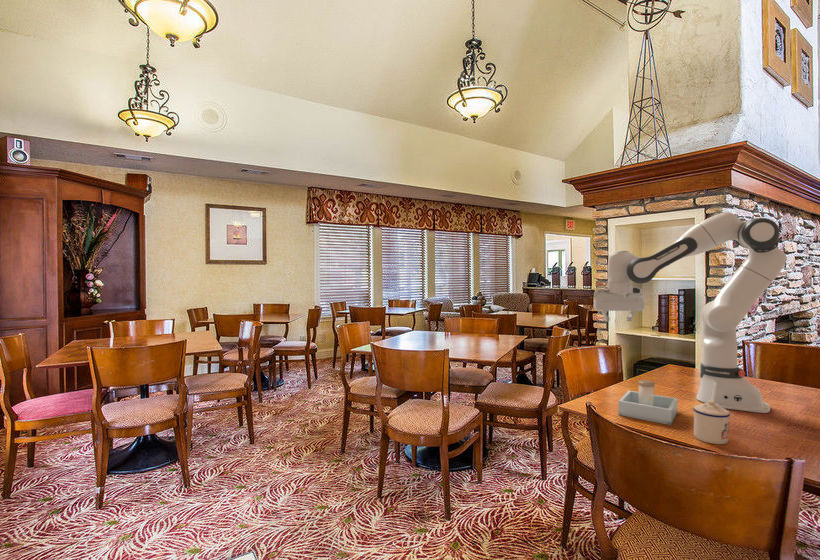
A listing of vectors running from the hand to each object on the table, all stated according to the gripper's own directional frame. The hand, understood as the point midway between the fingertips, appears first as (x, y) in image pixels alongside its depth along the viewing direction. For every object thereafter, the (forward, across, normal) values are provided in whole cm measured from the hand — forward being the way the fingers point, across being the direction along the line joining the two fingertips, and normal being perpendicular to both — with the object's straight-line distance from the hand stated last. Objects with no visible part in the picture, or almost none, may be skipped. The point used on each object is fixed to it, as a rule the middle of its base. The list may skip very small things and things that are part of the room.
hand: (618, 321), depth 182 cm
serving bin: (+29, -2, -31) cm, 43 cm away
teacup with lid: (+29, +6, -52) cm, 60 cm away
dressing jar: (+28, -2, -30) cm, 41 cm away
